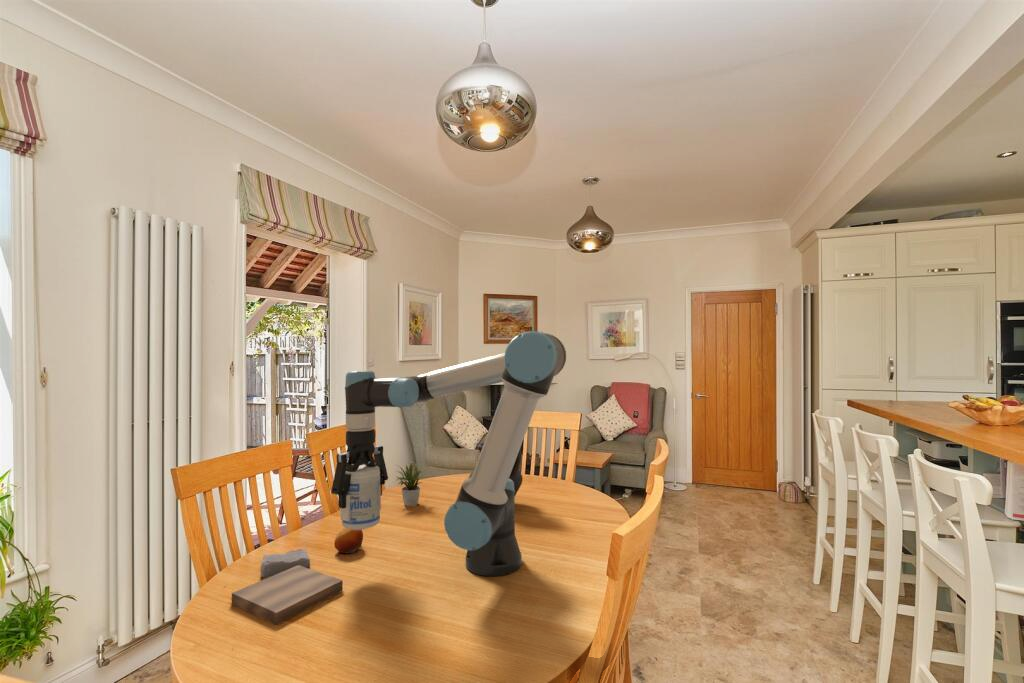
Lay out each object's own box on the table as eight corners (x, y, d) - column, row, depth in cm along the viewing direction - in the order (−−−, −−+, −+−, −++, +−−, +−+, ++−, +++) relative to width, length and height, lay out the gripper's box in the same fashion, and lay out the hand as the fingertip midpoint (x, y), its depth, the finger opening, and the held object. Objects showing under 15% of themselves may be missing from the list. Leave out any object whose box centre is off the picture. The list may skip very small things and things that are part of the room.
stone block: (259, 572, 130) (260, 579, 121) (260, 553, 131) (260, 559, 122) (307, 565, 135) (310, 571, 127) (307, 547, 136) (311, 552, 128)
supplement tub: (343, 533, 120) (342, 474, 120) (341, 522, 128) (340, 466, 129) (382, 527, 123) (382, 470, 124) (378, 516, 132) (377, 463, 133)
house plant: (389, 500, 188) (389, 458, 189) (424, 496, 193) (424, 456, 193) (391, 511, 175) (391, 466, 175) (429, 507, 179) (429, 463, 180)
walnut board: (342, 590, 115) (342, 580, 115) (276, 624, 100) (276, 612, 101) (298, 574, 124) (298, 565, 124) (231, 604, 109) (231, 593, 109)
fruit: (360, 552, 134) (347, 526, 135) (338, 565, 136) (325, 539, 137) (374, 541, 142) (361, 517, 143) (353, 553, 144) (341, 529, 145)
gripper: (381, 423, 138) (382, 501, 137) (315, 434, 119) (315, 525, 118) (401, 424, 134) (402, 504, 133) (335, 436, 115) (335, 530, 114)
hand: (361, 514), depth 126 cm, fingers closed on supplement tub, 10 cm apart
